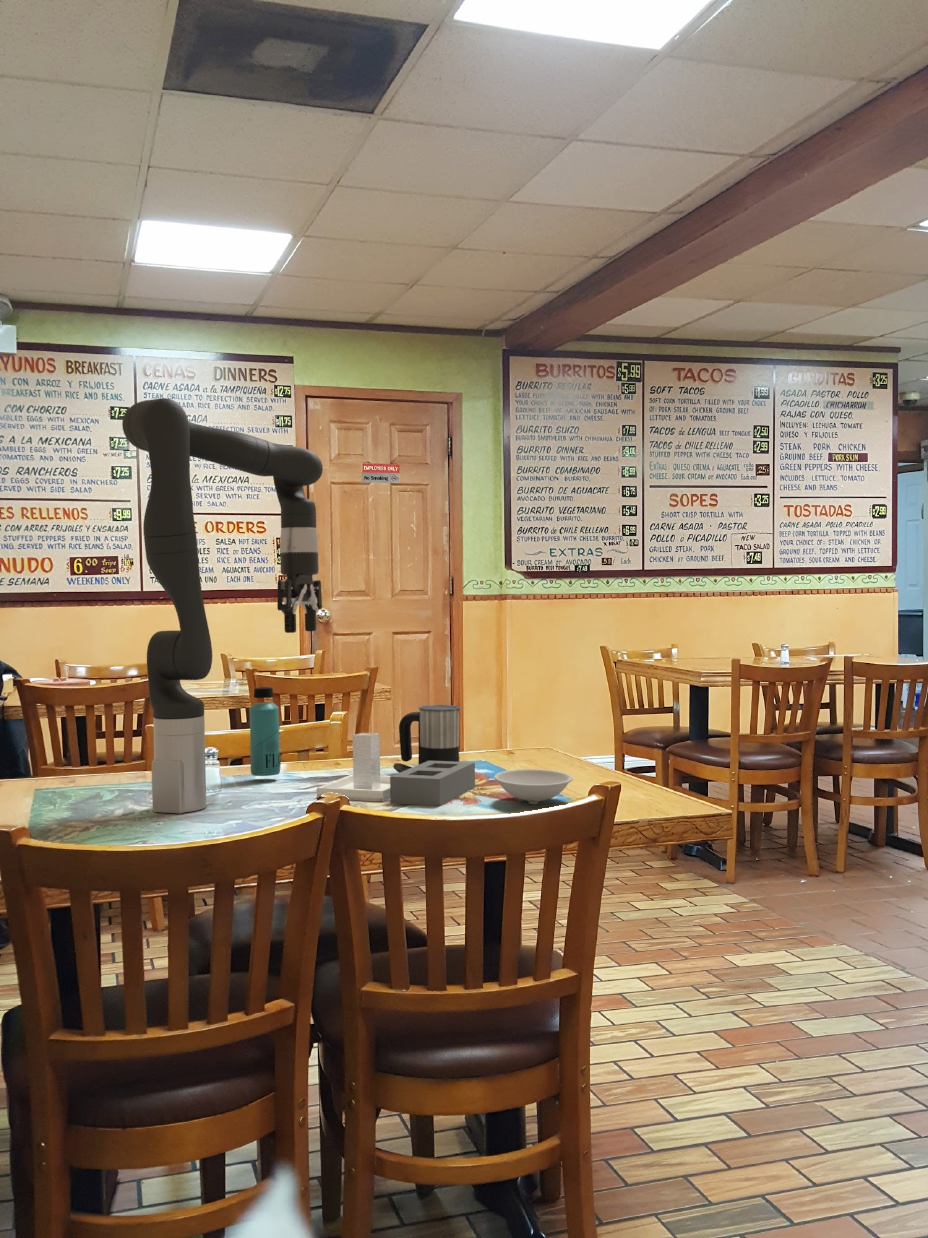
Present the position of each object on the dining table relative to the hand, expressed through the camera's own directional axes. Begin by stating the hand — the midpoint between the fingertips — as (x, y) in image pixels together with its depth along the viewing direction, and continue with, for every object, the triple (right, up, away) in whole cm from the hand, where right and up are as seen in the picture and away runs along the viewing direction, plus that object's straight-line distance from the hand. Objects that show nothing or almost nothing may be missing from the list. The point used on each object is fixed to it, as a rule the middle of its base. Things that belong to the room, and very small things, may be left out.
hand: (300, 631), depth 215 cm
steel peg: (+13, -31, -2) cm, 34 cm away
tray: (+13, -32, -2) cm, 35 cm away
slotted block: (+27, -32, -5) cm, 42 cm away
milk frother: (+25, -32, +16) cm, 43 cm away
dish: (+46, -32, -15) cm, 58 cm away
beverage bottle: (-10, -32, +14) cm, 36 cm away
